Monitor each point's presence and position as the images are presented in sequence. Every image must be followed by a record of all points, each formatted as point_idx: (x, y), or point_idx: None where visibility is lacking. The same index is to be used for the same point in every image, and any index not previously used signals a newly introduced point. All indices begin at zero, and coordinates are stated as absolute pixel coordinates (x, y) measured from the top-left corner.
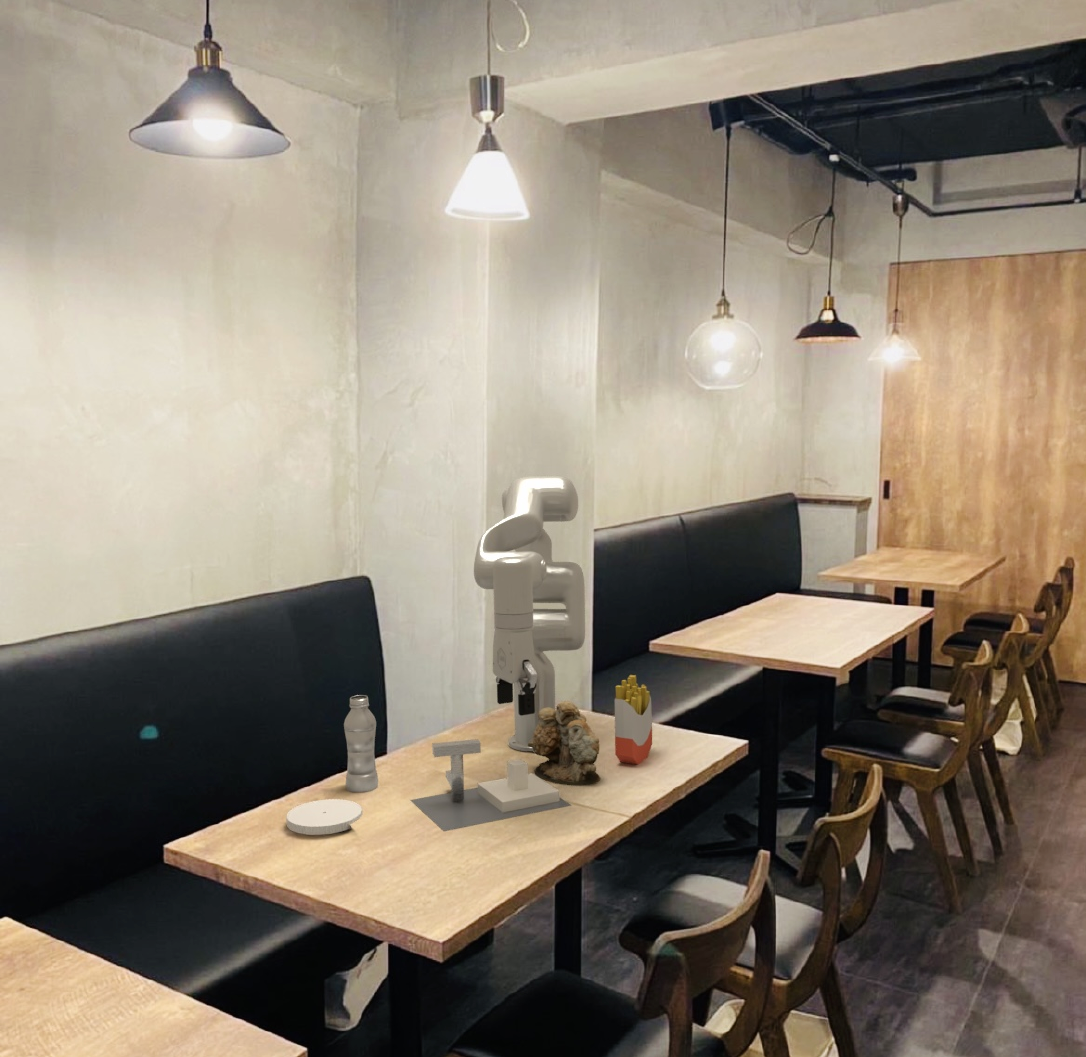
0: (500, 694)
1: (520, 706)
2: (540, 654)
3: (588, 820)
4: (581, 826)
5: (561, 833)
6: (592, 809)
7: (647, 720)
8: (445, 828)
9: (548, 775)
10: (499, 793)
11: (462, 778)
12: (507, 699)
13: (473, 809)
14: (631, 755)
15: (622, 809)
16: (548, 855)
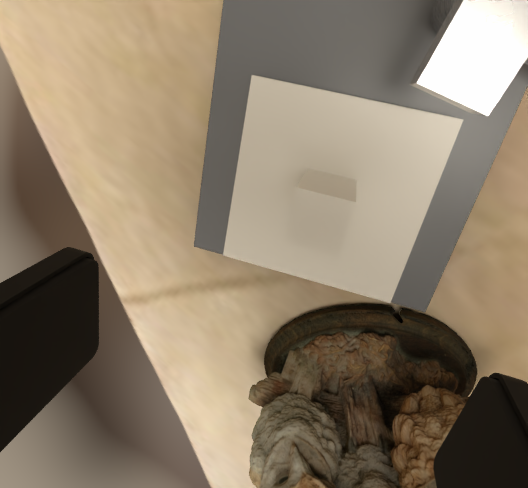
0: (514, 460)
1: (14, 283)
2: None
3: (146, 234)
4: (127, 200)
5: (116, 140)
6: (191, 282)
7: None
8: None
9: (366, 333)
10: (322, 117)
11: (449, 6)
12: (457, 452)
13: (343, 10)
14: None
15: (157, 319)
16: (26, 29)
